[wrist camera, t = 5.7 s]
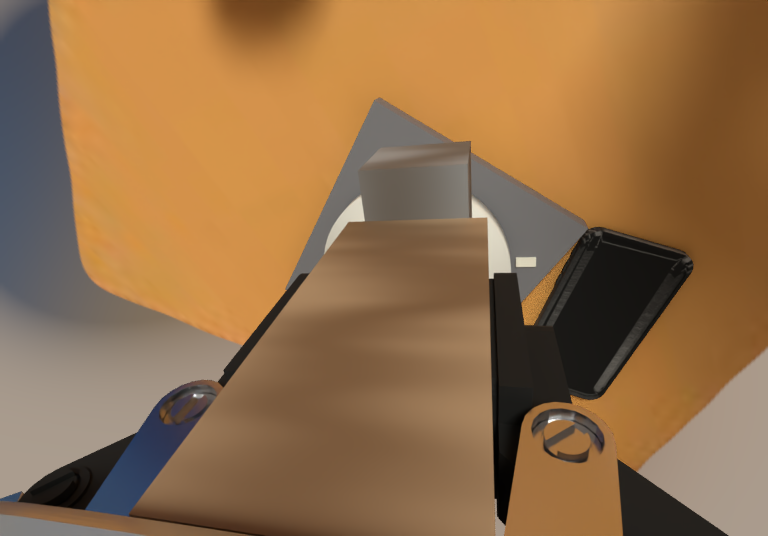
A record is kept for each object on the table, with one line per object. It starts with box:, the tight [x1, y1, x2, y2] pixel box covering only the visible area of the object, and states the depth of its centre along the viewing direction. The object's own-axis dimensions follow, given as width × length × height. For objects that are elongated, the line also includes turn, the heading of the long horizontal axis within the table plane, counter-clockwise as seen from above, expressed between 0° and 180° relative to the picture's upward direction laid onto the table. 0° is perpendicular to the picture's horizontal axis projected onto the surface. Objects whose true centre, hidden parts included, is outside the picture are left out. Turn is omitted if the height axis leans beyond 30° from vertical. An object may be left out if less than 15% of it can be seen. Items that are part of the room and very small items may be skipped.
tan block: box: [129, 141, 495, 536], centre depth 10 cm, size 4×7×12 cm, turn 7°
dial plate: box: [286, 98, 588, 302], centre depth 34 cm, size 18×17×2 cm
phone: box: [534, 227, 693, 400], centre depth 34 cm, size 8×1×15 cm
